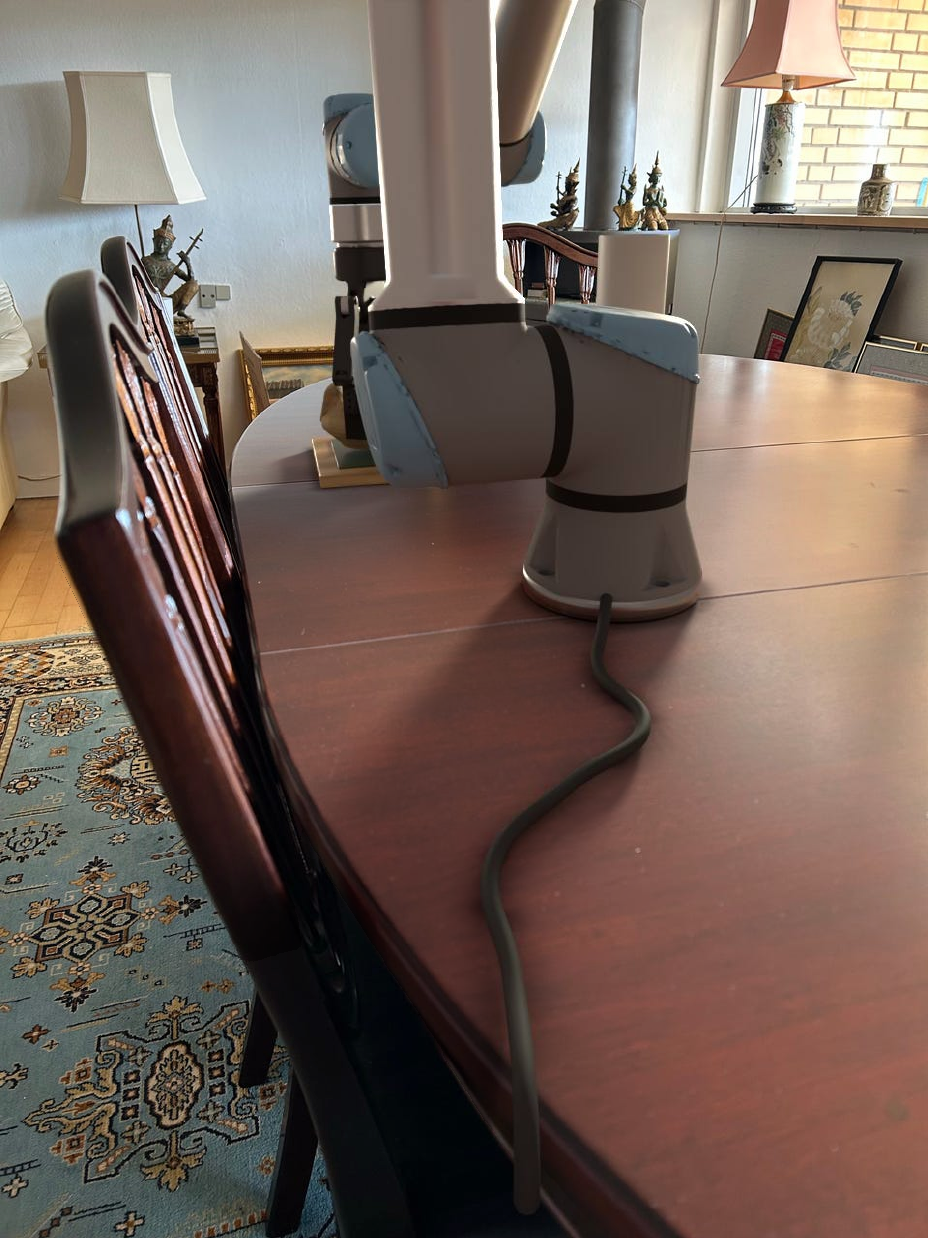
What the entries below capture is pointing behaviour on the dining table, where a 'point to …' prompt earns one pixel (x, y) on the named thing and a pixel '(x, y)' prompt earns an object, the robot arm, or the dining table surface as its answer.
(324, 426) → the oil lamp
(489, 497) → the dining table surface
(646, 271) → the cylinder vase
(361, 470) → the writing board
